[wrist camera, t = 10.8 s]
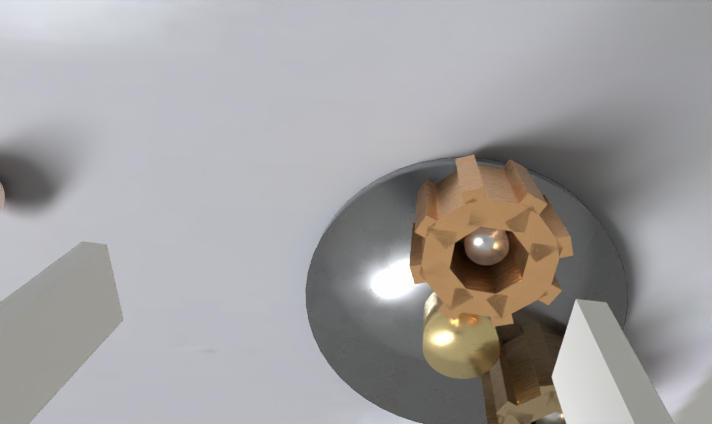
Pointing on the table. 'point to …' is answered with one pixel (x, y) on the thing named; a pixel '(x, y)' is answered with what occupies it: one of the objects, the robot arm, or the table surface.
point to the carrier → (433, 329)
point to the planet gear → (491, 210)
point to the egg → (2, 197)
